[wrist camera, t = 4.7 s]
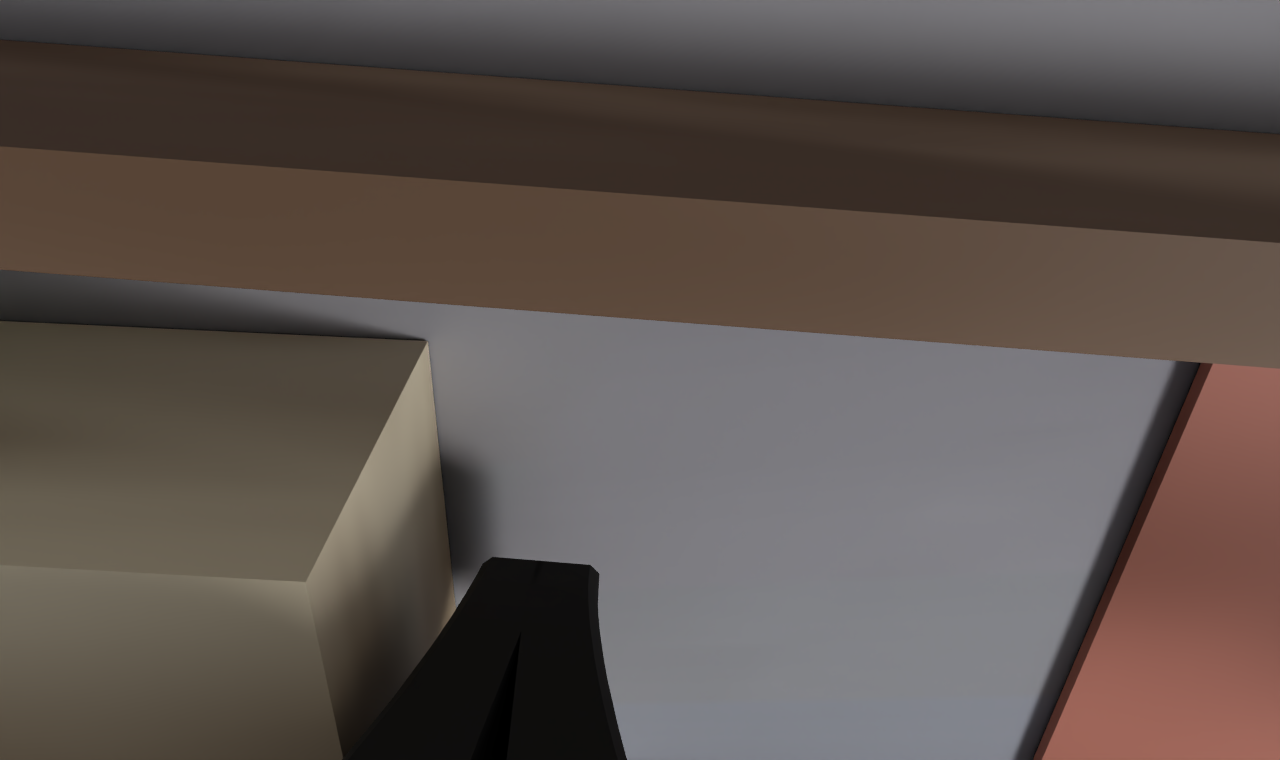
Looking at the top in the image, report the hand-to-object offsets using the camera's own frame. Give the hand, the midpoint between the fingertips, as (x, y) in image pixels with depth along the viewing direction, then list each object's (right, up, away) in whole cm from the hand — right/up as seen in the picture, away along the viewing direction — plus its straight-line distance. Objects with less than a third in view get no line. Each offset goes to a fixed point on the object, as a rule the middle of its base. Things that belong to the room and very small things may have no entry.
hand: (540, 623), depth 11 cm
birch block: (-4, +1, +1) cm, 5 cm away
